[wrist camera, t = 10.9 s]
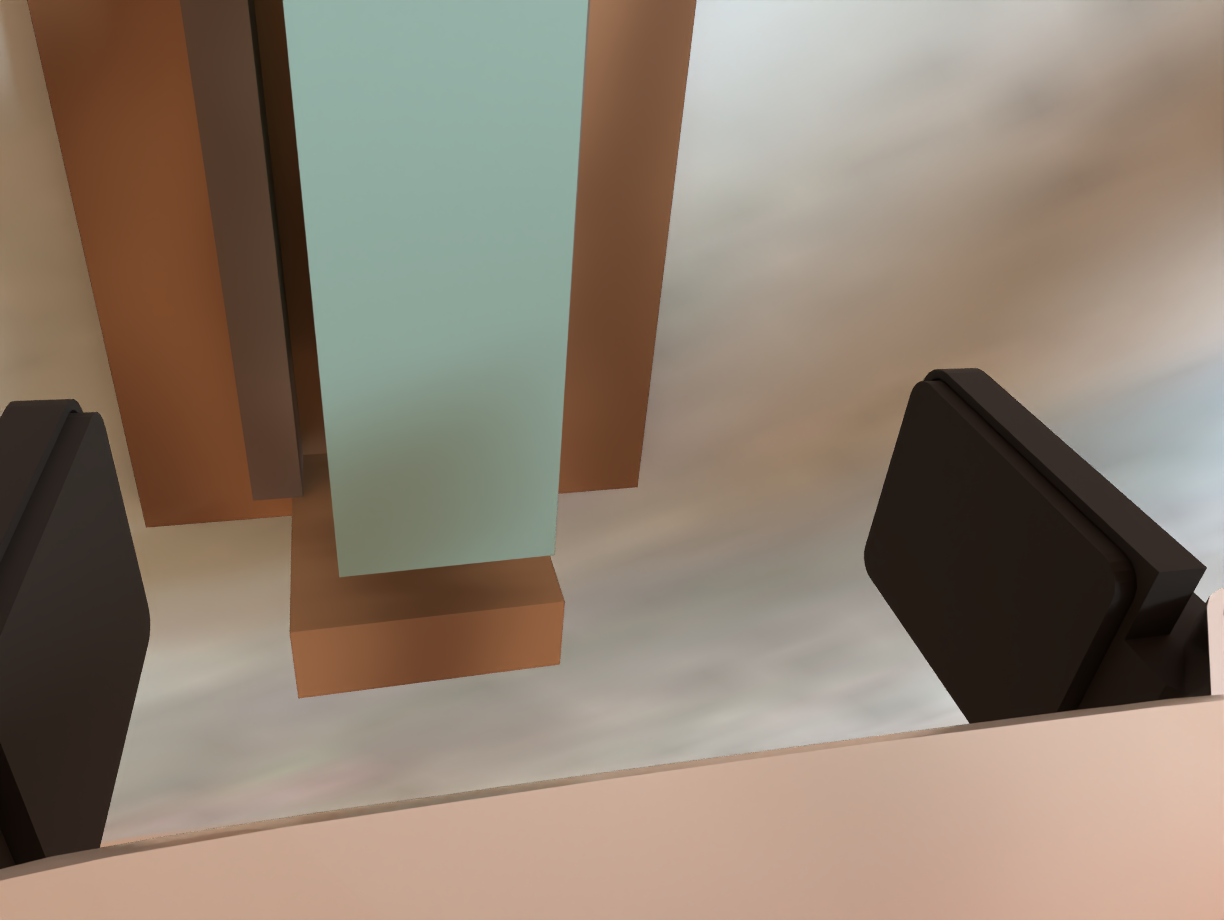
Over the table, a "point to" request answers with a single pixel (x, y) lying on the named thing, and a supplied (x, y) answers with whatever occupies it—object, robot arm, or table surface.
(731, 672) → the table surface
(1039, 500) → the robot arm
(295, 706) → the table surface
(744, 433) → the table surface
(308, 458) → the brown wooden holder
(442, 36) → the door panel
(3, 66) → the table surface
